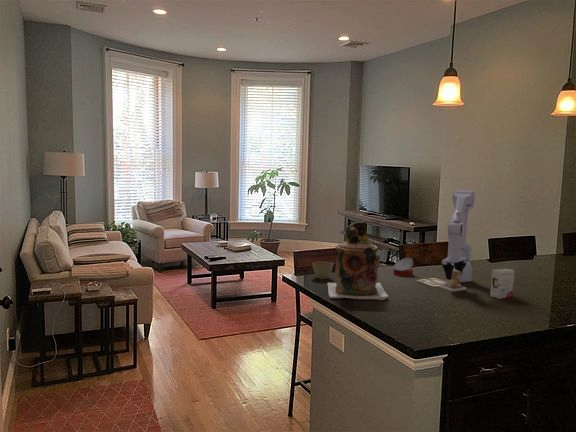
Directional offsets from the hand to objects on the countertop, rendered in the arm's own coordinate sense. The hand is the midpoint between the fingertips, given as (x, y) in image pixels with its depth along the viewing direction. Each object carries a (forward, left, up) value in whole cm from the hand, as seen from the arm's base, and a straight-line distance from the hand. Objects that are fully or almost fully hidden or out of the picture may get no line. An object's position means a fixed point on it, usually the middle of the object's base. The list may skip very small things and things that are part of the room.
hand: (453, 278), depth 225 cm
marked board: (0, -12, -5) cm, 12 cm away
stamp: (0, 0, -3) cm, 3 cm away
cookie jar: (+45, -11, -5) cm, 47 cm away
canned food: (+1, -33, -5) cm, 33 cm away
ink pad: (0, 0, -5) cm, 5 cm away
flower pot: (+44, -42, -5) cm, 61 cm away
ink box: (-9, +19, -5) cm, 22 cm away
